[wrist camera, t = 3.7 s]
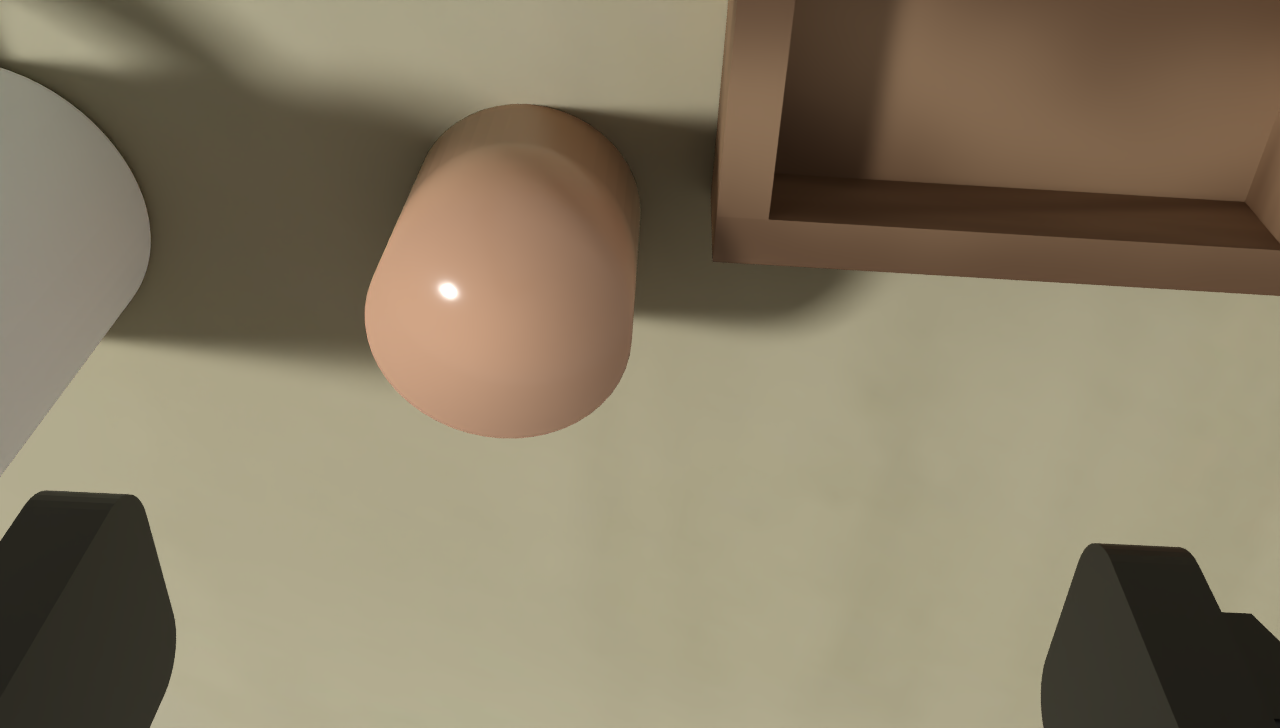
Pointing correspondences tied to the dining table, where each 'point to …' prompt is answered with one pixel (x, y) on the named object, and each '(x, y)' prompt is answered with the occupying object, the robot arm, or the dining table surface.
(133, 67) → the dining table surface
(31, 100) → the mug
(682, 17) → the dining table surface
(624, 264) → the peach capsule shape
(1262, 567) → the dining table surface
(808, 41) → the tray
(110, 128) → the dining table surface
